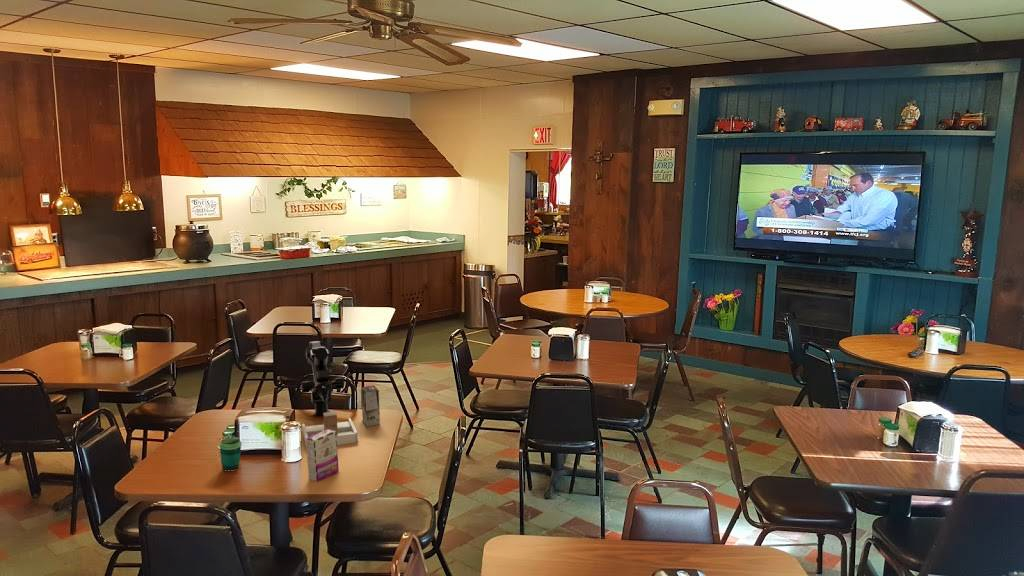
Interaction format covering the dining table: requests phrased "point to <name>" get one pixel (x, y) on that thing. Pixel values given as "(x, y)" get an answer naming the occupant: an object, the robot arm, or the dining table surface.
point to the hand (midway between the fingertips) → (325, 401)
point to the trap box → (345, 432)
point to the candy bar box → (322, 455)
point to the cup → (230, 453)
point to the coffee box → (370, 405)
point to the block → (330, 421)
